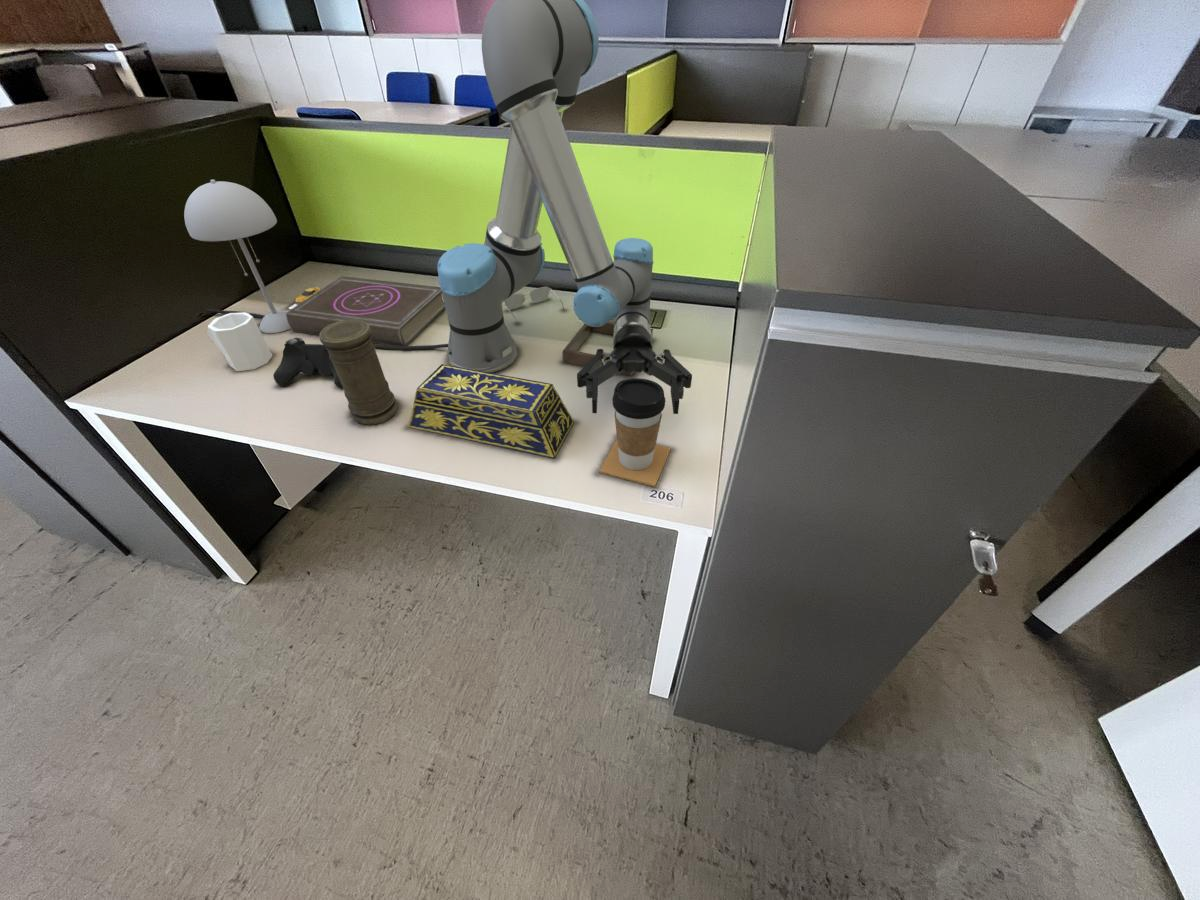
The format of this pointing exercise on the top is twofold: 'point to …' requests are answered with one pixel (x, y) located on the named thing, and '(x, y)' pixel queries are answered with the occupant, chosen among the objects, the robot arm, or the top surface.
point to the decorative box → (492, 410)
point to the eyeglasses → (518, 299)
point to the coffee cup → (637, 420)
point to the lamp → (233, 228)
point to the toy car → (305, 296)
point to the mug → (239, 341)
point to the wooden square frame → (571, 349)
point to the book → (370, 308)
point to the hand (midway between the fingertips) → (635, 407)
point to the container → (359, 371)
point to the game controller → (304, 362)
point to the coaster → (641, 476)
